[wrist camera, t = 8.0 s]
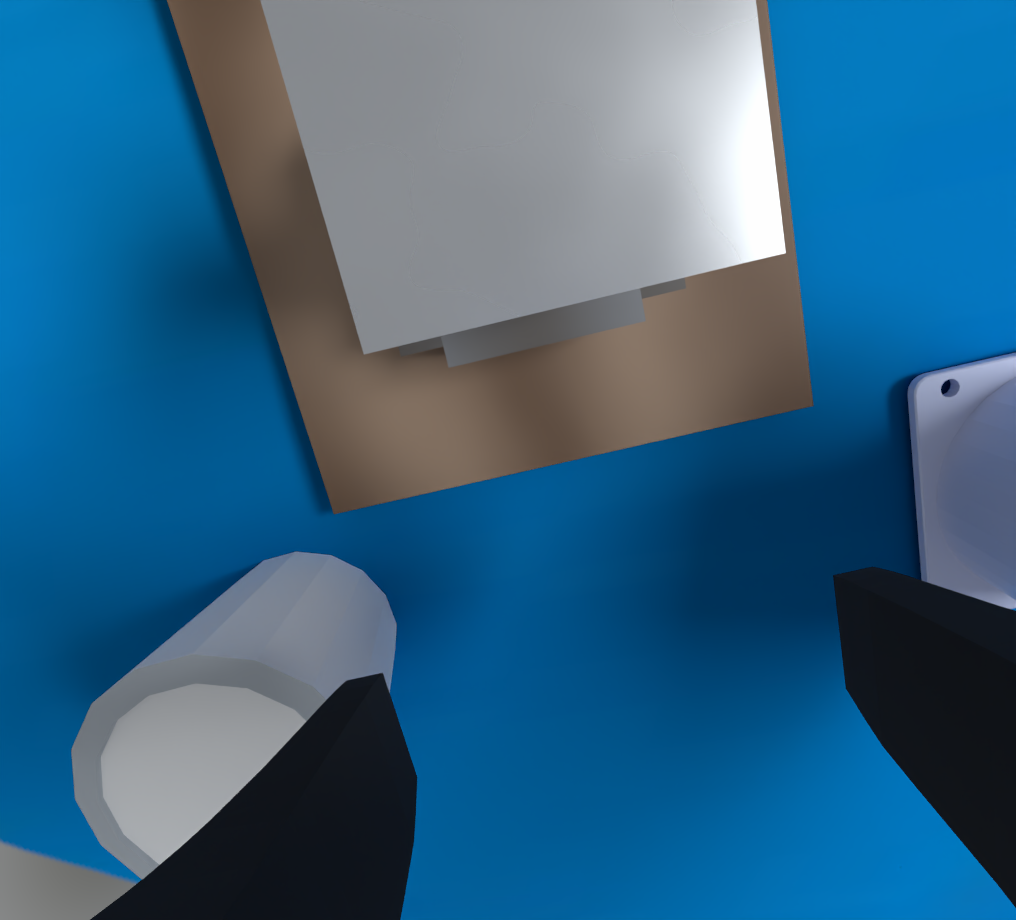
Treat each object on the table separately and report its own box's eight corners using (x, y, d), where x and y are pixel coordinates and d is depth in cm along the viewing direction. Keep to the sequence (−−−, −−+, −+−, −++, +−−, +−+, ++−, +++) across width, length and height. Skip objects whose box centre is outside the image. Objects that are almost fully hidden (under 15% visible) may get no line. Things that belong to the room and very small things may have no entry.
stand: (711, -320, 15) (1001, -1161, 6) (798, 399, 20) (1038, 502, 11) (133, -149, 16) (-334, -677, 7) (342, 502, 20) (214, 677, 12)
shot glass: (346, 496, 20) (267, 605, 14) (453, 670, 22) (430, 845, 15) (162, 590, 21) (2, 736, 14) (278, 751, 23) (183, 950, 16)
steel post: (594, 47, 13) (731, -304, 5) (634, 268, 14) (795, 259, 6) (385, 103, 13) (204, -151, 5) (440, 315, 14) (358, 365, 6)
